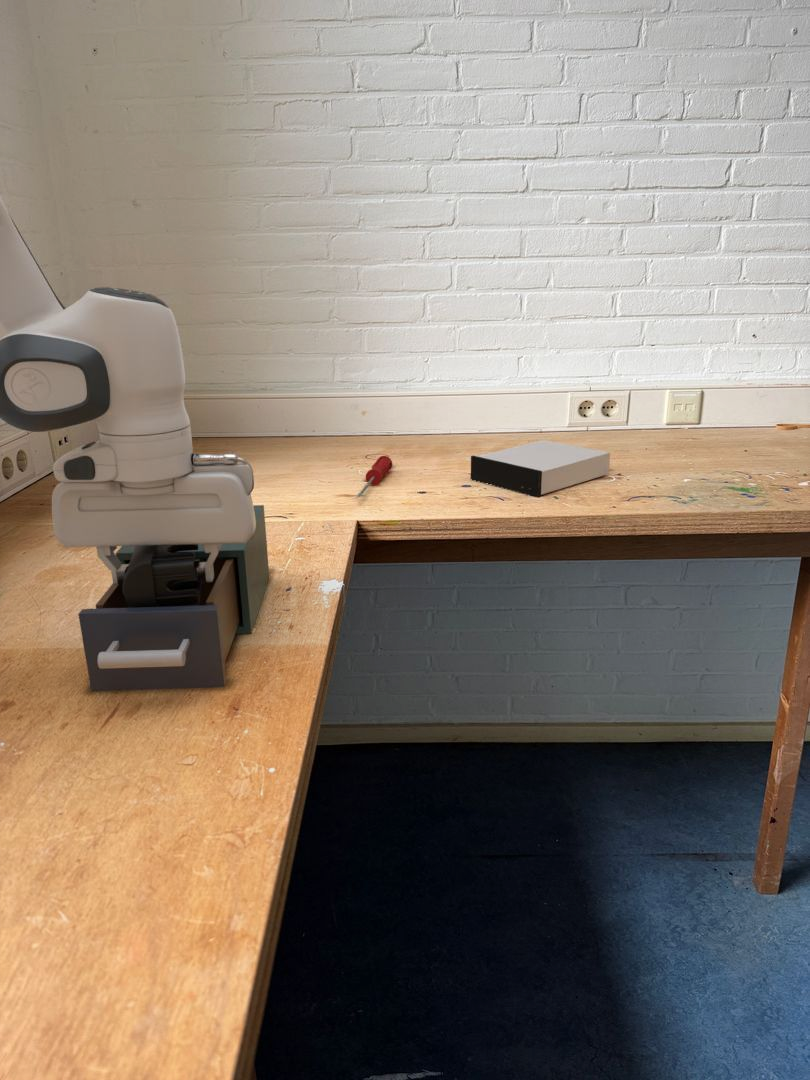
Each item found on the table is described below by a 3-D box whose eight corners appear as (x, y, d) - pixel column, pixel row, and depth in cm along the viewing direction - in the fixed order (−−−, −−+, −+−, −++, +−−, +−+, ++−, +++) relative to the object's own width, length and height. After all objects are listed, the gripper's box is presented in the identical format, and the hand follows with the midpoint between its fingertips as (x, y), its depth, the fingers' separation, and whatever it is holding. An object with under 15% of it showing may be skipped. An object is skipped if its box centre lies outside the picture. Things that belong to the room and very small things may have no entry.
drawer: (216, 711, 78) (208, 628, 75) (76, 715, 78) (62, 633, 75) (248, 619, 98) (242, 551, 95) (136, 622, 97) (126, 554, 94)
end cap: (137, 588, 90) (130, 531, 88) (202, 582, 92) (196, 526, 89) (127, 625, 81) (118, 563, 79) (198, 619, 82) (192, 557, 80)
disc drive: (470, 479, 161) (470, 455, 159) (541, 460, 175) (542, 438, 173) (538, 497, 148) (539, 471, 147) (609, 475, 162) (611, 451, 161)
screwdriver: (349, 505, 146) (348, 486, 144) (376, 470, 169) (376, 454, 168) (368, 506, 145) (367, 487, 144) (393, 471, 168) (393, 455, 167)
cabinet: (251, 633, 96) (244, 549, 93) (127, 637, 96) (115, 553, 92) (269, 577, 113) (263, 505, 109) (164, 580, 113) (155, 507, 109)
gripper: (255, 446, 84) (265, 568, 89) (59, 450, 83) (79, 573, 88) (247, 460, 78) (257, 590, 83) (35, 465, 78) (58, 596, 82)
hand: (164, 581), depth 85 cm, fingers closed on end cap, 7 cm apart
